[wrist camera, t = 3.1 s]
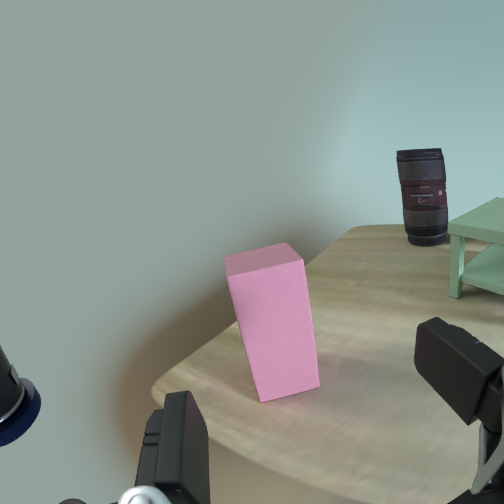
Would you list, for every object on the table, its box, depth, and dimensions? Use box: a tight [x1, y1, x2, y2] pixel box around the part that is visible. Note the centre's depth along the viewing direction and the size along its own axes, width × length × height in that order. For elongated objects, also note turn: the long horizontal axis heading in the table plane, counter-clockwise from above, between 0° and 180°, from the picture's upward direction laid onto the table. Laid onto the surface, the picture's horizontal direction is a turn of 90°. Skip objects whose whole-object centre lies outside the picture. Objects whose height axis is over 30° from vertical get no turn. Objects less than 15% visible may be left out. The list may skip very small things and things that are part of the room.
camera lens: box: [396, 148, 448, 246], centre depth 40 cm, size 8×8×15 cm
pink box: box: [224, 242, 320, 403], centre depth 20 cm, size 4×4×10 cm
